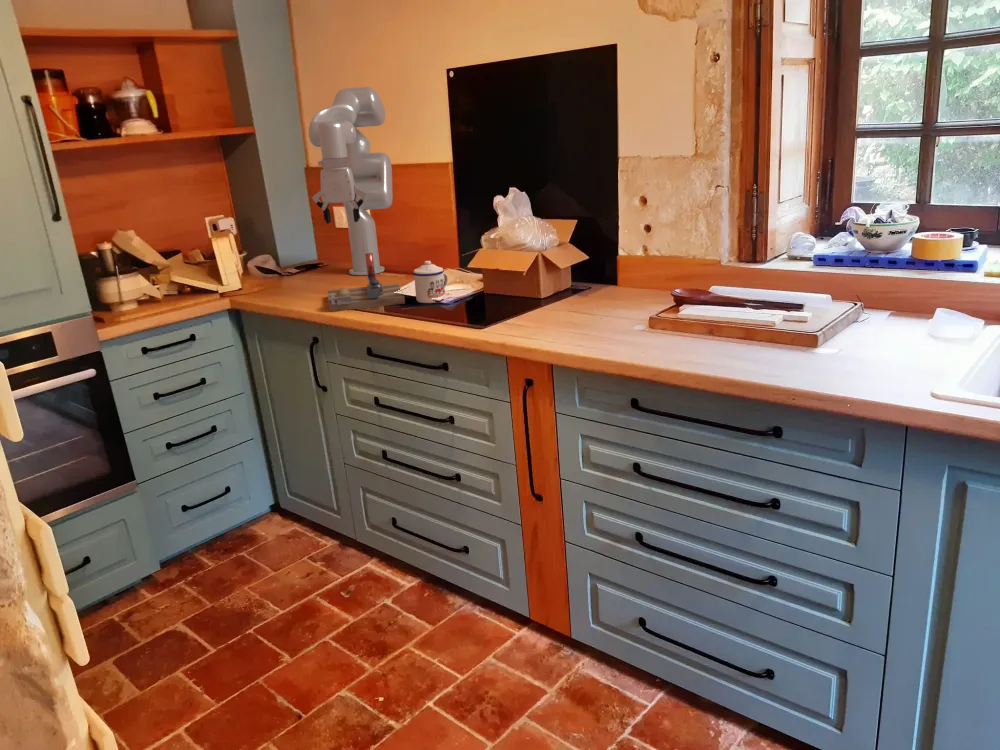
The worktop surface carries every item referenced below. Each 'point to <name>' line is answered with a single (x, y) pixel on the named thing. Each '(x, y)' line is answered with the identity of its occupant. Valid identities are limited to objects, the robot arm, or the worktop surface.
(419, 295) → the teacup with lid
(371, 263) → the lever
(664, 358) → the worktop surface
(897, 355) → the worktop surface
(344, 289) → the walnut
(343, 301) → the nutcracker base
